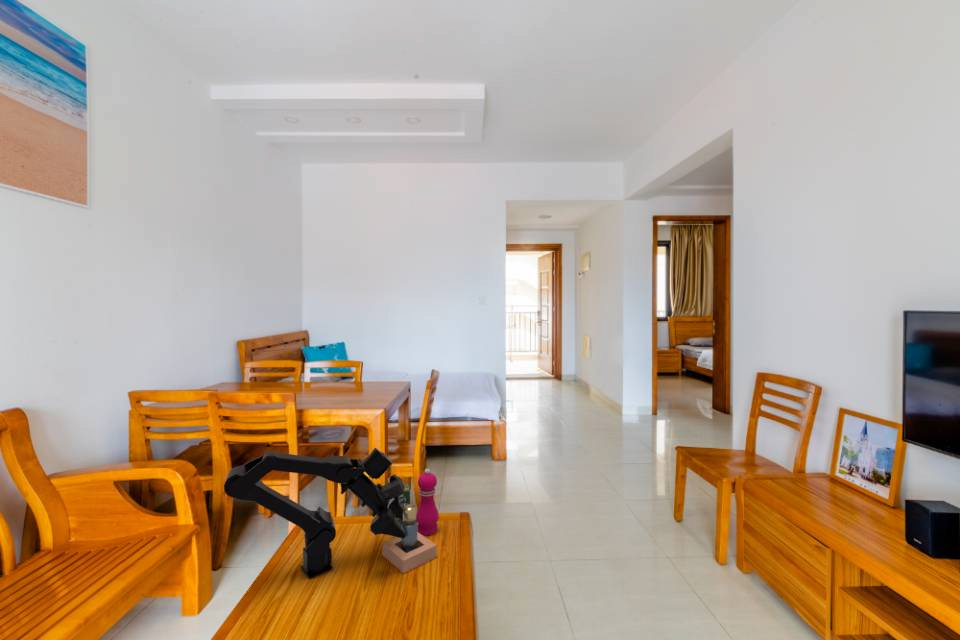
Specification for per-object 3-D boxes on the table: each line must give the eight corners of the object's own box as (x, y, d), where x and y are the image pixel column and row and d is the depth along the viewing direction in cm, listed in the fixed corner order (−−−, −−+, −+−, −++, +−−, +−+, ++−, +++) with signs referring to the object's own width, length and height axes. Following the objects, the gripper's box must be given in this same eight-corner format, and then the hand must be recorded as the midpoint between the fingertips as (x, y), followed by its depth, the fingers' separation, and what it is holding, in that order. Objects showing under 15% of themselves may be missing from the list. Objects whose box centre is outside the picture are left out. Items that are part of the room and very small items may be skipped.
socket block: (403, 573, 118) (403, 560, 117) (382, 555, 126) (382, 543, 126) (436, 557, 125) (436, 545, 125) (414, 541, 133) (414, 529, 133)
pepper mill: (440, 525, 143) (440, 464, 142) (436, 537, 135) (436, 473, 134) (418, 523, 143) (418, 463, 142) (413, 535, 136) (413, 472, 135)
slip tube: (406, 561, 122) (406, 513, 121) (398, 554, 125) (397, 507, 125) (420, 555, 125) (420, 507, 124) (411, 548, 129) (411, 501, 128)
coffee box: (385, 531, 138) (385, 491, 138) (384, 527, 141) (384, 487, 140) (410, 527, 141) (410, 487, 141) (409, 522, 144) (408, 483, 143)
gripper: (383, 485, 114) (425, 525, 116) (391, 458, 133) (427, 493, 134) (352, 515, 114) (395, 555, 115) (364, 485, 132) (401, 519, 134)
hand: (406, 528), depth 125 cm, fingers open, 9 cm apart
